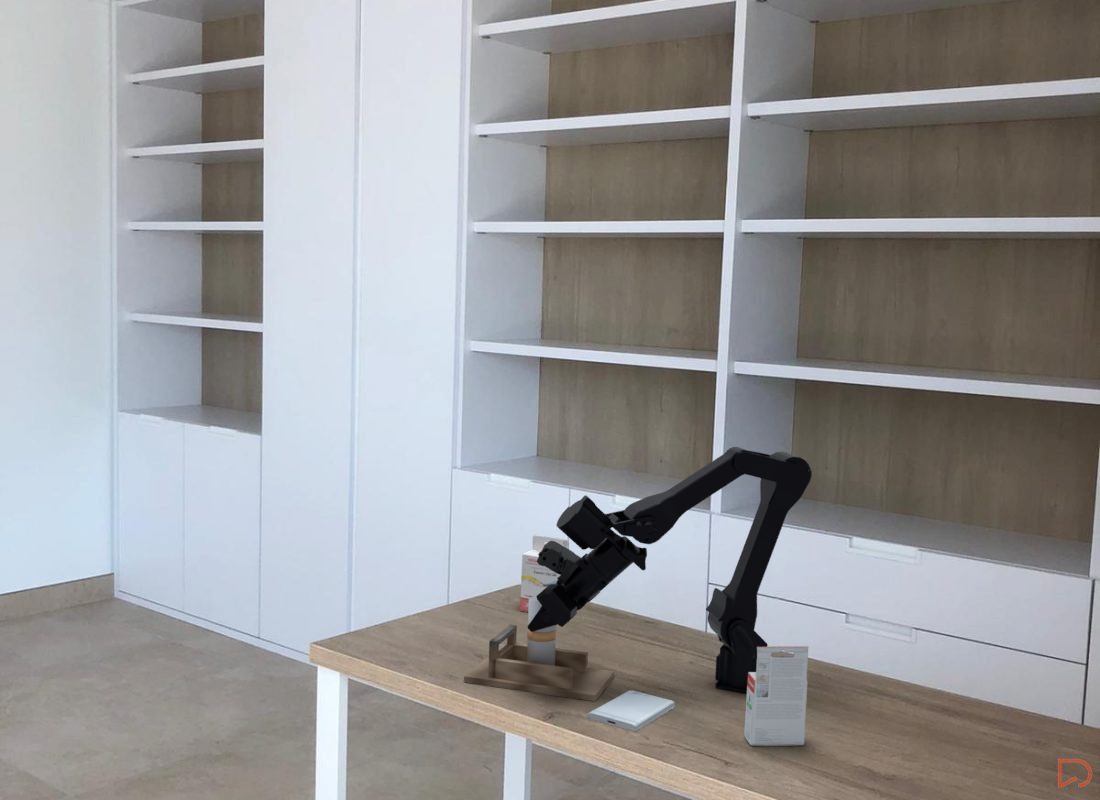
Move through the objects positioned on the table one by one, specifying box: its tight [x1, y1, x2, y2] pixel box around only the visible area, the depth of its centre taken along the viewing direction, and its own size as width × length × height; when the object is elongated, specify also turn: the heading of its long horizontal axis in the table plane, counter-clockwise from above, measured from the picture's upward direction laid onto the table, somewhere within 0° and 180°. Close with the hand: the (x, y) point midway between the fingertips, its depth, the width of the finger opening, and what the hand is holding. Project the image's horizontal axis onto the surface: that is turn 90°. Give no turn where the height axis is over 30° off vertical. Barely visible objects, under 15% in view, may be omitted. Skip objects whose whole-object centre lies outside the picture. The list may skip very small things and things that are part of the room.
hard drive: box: [587, 689, 676, 733], centre depth 173 cm, size 2×8×12 cm
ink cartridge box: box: [519, 534, 570, 613], centre depth 225 cm, size 9×5×15 cm, turn 66°
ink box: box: [743, 646, 809, 747], centre depth 163 cm, size 4×8×15 cm, turn 96°
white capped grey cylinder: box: [526, 596, 557, 666], centre depth 185 cm, size 5×5×11 cm
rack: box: [463, 624, 615, 702], centre depth 185 cm, size 22×12×7 cm, turn 72°
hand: (534, 625), depth 185 cm, fingers closed on white capped grey cylinder, 4 cm apart
